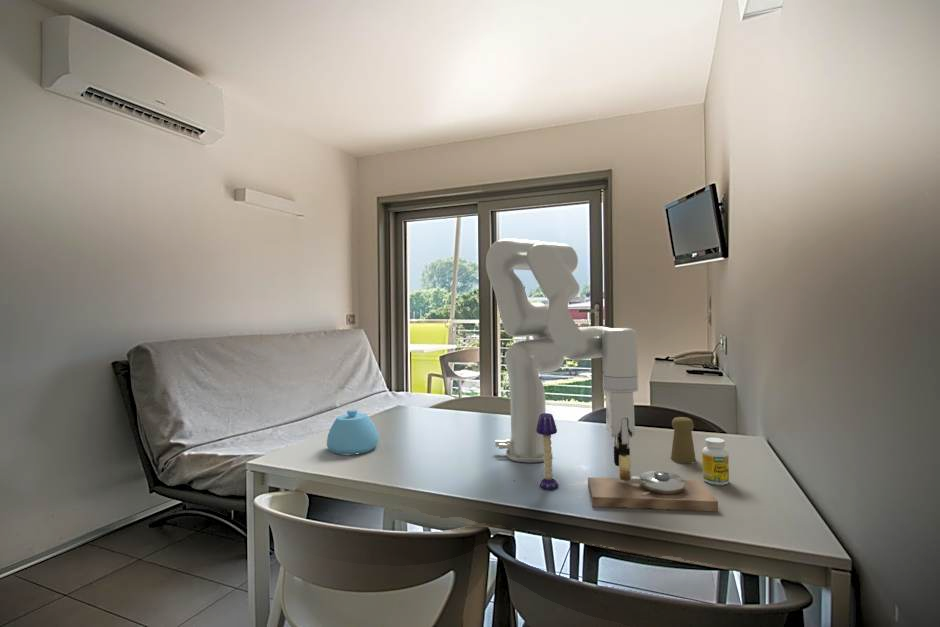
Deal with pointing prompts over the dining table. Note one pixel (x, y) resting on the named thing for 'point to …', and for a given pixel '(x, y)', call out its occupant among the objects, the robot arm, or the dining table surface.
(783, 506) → the dining table surface
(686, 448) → the cork
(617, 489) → the stand plate
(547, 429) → the toy lamp
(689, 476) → the dining table surface
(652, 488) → the crank handle
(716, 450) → the supplement bottle
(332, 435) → the sugar bowl
